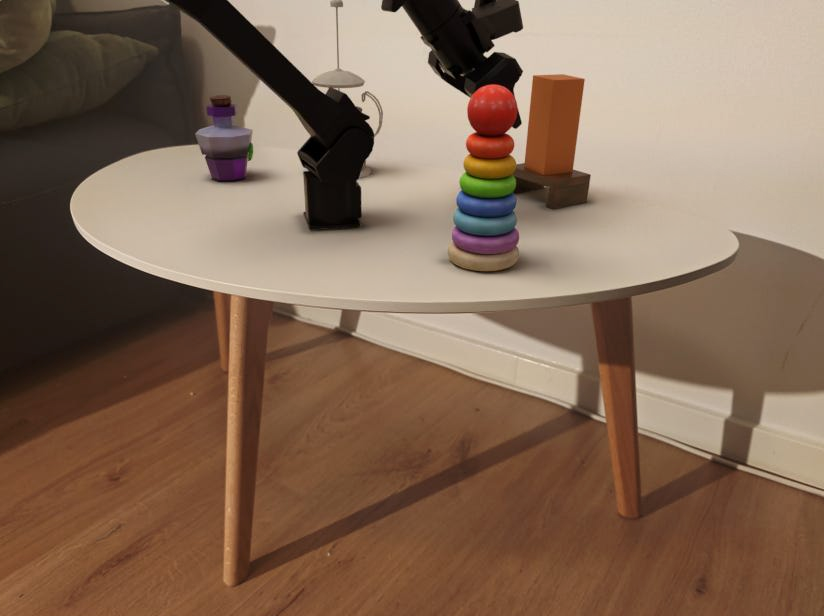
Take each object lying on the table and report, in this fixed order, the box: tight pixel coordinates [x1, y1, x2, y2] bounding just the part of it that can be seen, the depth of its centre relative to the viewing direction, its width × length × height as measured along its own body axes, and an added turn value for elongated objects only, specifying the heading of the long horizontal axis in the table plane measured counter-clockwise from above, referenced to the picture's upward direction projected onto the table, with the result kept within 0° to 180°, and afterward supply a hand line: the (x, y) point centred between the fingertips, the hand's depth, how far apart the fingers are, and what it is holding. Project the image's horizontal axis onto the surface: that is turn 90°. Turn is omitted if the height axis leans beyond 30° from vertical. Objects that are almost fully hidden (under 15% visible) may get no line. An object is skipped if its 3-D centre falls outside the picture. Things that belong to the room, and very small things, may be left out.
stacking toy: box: [447, 85, 520, 272], centre depth 74 cm, size 8×8×19 cm
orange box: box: [524, 73, 586, 175], centre depth 98 cm, size 5×5×12 cm
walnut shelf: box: [512, 162, 592, 210], centre depth 102 cm, size 7×10×4 cm
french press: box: [311, 0, 384, 179], centre depth 107 cm, size 10×12×25 cm
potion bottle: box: [194, 94, 254, 183], centre depth 105 cm, size 9×9×12 cm
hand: (504, 116), depth 93 cm, fingers open, 9 cm apart
